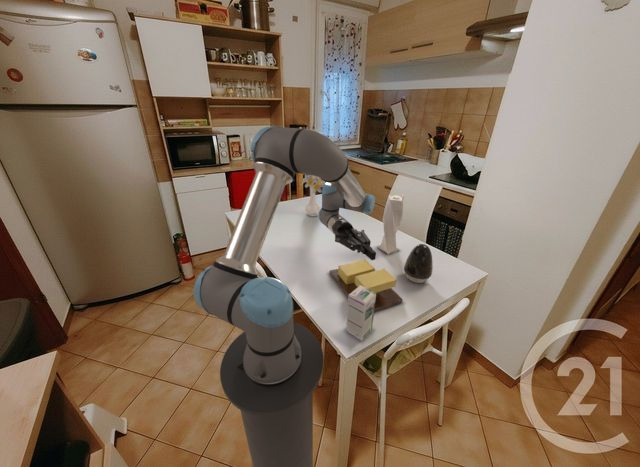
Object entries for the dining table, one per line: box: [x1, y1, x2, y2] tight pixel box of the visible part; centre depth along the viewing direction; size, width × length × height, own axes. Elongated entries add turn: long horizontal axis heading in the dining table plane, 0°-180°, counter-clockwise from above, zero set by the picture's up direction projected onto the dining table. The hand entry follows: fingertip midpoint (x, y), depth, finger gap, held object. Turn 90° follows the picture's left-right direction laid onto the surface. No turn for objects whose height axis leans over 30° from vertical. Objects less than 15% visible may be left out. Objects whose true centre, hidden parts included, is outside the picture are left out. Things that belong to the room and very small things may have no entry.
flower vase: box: [300, 174, 326, 217], centre depth 151 cm, size 13×18×25 cm
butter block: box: [337, 258, 376, 284], centre depth 101 cm, size 12×7×4 cm, turn 114°
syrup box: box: [346, 285, 376, 341], centre depth 76 cm, size 6×6×14 cm
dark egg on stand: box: [403, 243, 434, 284], centre depth 99 cm, size 10×10×15 cm
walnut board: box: [328, 268, 404, 313], centre depth 98 cm, size 16×25×2 cm, turn 24°
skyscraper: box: [377, 193, 405, 255], centre depth 115 cm, size 8×8×28 cm
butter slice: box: [355, 268, 398, 293], centre depth 89 cm, size 12×7×3 cm, turn 114°
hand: (373, 256), depth 87 cm, fingers closed
